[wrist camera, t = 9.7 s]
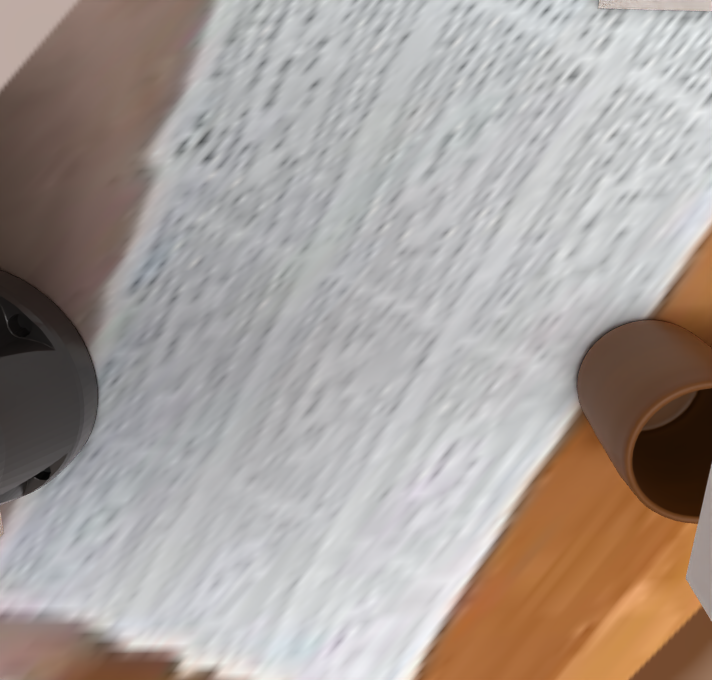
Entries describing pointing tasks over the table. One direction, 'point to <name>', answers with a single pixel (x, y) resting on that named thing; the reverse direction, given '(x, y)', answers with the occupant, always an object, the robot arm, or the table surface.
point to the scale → (658, 4)
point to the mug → (653, 412)
